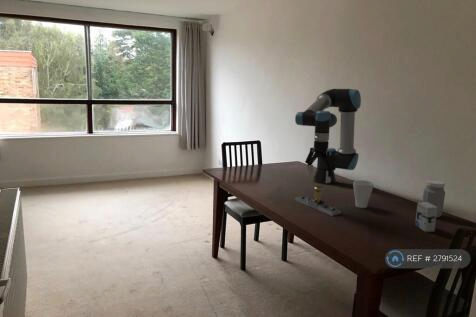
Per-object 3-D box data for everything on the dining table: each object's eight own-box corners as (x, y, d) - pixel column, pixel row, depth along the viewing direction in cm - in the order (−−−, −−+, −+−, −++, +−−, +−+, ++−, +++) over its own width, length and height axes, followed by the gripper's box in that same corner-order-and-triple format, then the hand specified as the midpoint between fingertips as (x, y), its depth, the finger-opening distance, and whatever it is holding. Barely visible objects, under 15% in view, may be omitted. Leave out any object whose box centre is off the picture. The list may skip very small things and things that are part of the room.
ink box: (414, 224, 173) (417, 201, 170) (423, 224, 173) (427, 201, 171) (424, 231, 164) (428, 207, 162) (434, 231, 165) (438, 207, 163)
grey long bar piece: (294, 200, 206) (295, 194, 205) (303, 198, 209) (303, 192, 208) (331, 216, 182) (332, 209, 181) (340, 213, 185) (341, 207, 185)
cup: (361, 210, 191) (363, 186, 189) (347, 204, 200) (349, 181, 198) (375, 207, 196) (377, 184, 193) (360, 202, 205) (363, 179, 203)
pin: (316, 204, 199) (318, 185, 196) (323, 207, 195) (324, 188, 192) (310, 206, 196) (311, 186, 194) (316, 208, 192) (317, 189, 190)
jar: (417, 211, 192) (421, 179, 189) (435, 212, 192) (440, 179, 188) (426, 217, 183) (430, 183, 179) (445, 218, 182) (450, 184, 179)
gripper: (300, 137, 197) (298, 174, 201) (334, 144, 176) (330, 186, 180) (310, 136, 201) (308, 173, 205) (344, 143, 180) (341, 184, 184)
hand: (318, 179), depth 193 cm, fingers open, 13 cm apart
